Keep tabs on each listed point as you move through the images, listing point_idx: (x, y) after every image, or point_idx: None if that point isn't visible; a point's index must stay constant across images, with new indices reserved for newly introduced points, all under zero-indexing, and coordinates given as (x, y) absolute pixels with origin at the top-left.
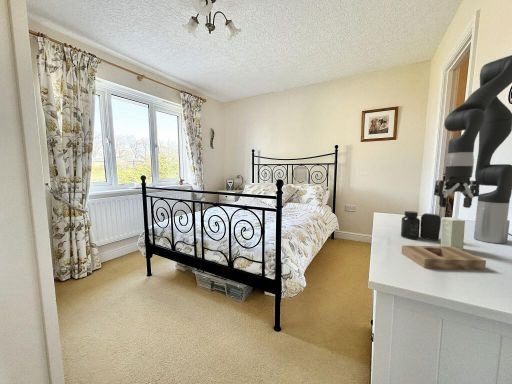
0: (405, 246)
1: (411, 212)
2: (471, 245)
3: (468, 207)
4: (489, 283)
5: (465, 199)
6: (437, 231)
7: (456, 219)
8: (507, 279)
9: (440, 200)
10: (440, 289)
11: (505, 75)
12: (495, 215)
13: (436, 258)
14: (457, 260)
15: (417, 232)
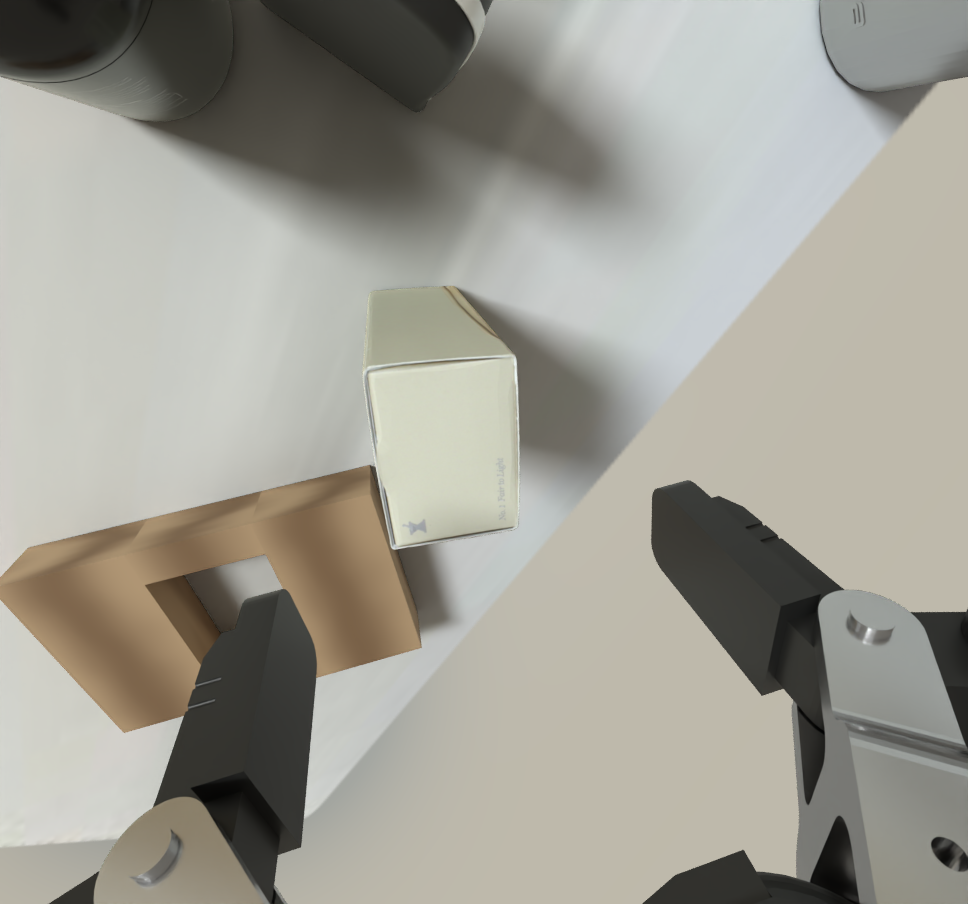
0: (17, 601)
1: None
2: (628, 204)
3: (663, 554)
4: (356, 712)
5: (747, 605)
6: (415, 92)
7: (466, 487)
8: (442, 662)
9: (193, 756)
10: None
11: None
12: None
13: (187, 707)
14: None
15: (178, 95)
